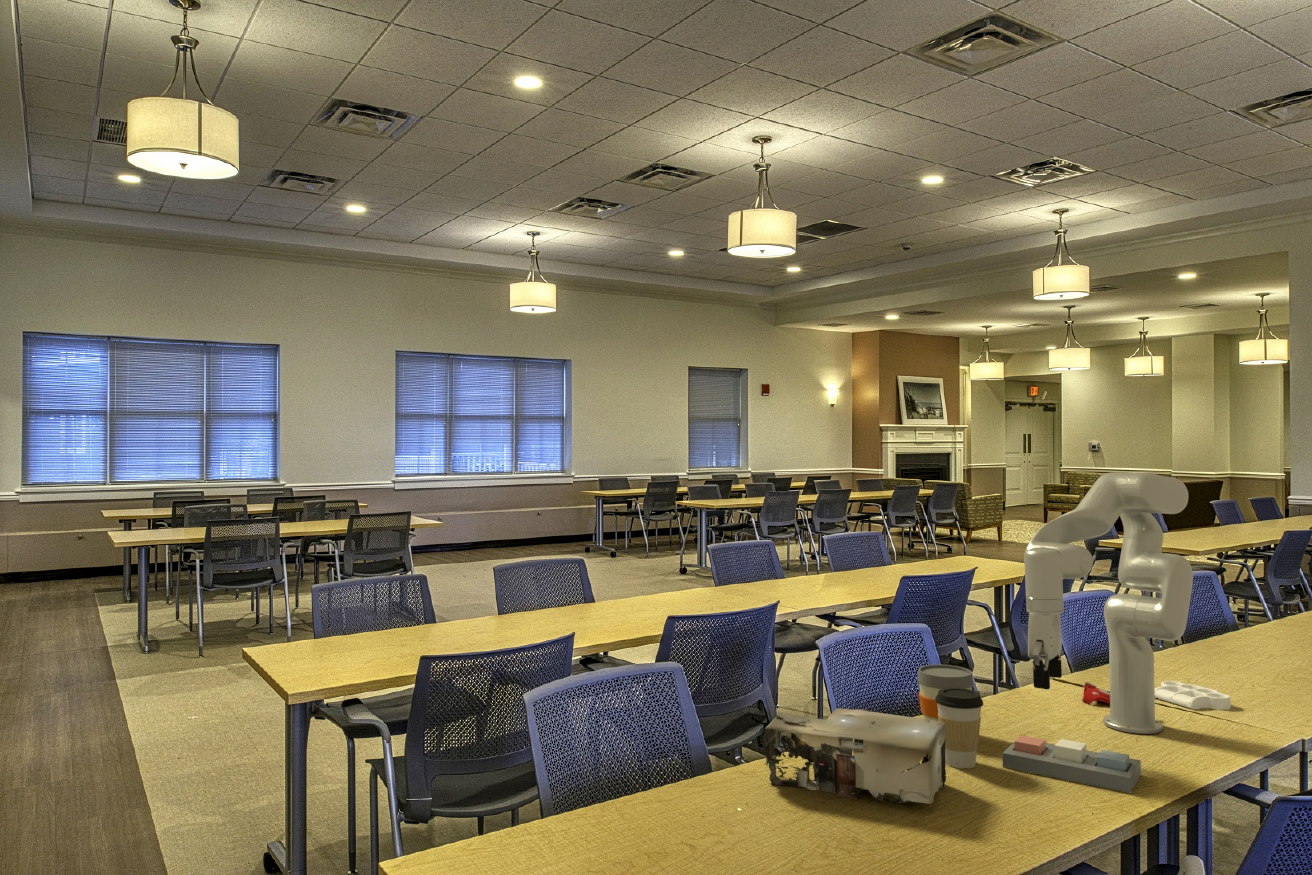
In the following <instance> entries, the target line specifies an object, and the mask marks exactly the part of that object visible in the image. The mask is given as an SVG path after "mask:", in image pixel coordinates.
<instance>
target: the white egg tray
mask: <svg viewBox="0 0 1312 875" xmlns="http://www.w3.org/2000/svg"><path fill="white" fill-rule="evenodd" d="M1160 685H1161V686H1158V687H1155V699H1156V698H1158V699H1157V700H1161V701H1164V702H1168V703H1170V702H1171V703H1170V704H1173V705H1177V704H1178V706H1180V707H1185V708H1188V709H1190V710H1194V709H1196V710H1201V709H1210V708H1212V709H1211V710H1216V709H1217V711H1218V710H1219V711H1226V710H1227V711H1228V710H1231V703H1232V702H1231V701H1232V700H1231V696H1230V695H1229V694H1225V693H1222V692H1219V690H1216V689H1213V688H1207V687H1203V686H1201V685H1197V684H1189V683H1183V682H1180V681H1174V680H1164V681H1161V684H1160ZM1200 708H1201V709H1200Z"/></svg>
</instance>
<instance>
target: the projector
mask: <svg viewBox="0 0 1312 875" xmlns="http://www.w3.org/2000/svg"><path fill="white" fill-rule="evenodd" d="M782 733H788V734H790V737H788V736H787V735H784V734H782ZM764 737H765V738H764V743H765V750H764V751H765V752H764V753H765V765H766V767H768V769H769V771H770V774H769V781H770V784H771V785H772V786H786V787H788V786H789V787H796V788H797V787H798V788H802V789H806V790H807V791H820V792H826V793H832V794H834V795H835V796H838V797H845V798H846V797H847V798H852V799H856V800H858V797H859V796H858V794H859V793H860V791H861V790H864V791H868V792H869V793H870V794H871V796H872V798H873V801H875V802H881V803H885V800H888V801H890V803H892V804H900V805H901V804H908V805H911V806H912V807H914V805H913V804H912V803H911V802H913V803H921V804H927V805H928V804H929V805H930V804H933V802H934V798H935V795H936V793H938V792H939V791H943V790H944V789H945V783H946V781H947V776H946V774H947V773H946V764H945V743H946V725H945V723H943V722H940V721H934V720H927V719H924V718H920V717H919V718H918V717H912V716H906V715H897V714H889V713H883V712H876V711H869V709H859V708H858V709H857V708H856V709H850V708H835V710H833V712H832V713H831V714H830V715H829V716H828V718H826V719H824V718H814V717H807V716H802V715H799V714H798V715H797V714H795V713H789V712H788V713H787V712H782V711H780V712H778V713H776V714H775V717H774V718H773V719H772V721H770V723H769V724H768V725H767V726H765V729H764ZM793 742H794V743H793ZM785 753H787V755H786V754H785ZM781 756H783V757H784V758H782V759H780V757H781ZM787 756H788V758H789V759H790V758H791V759H798V757H800V758H801V759H802V760H805V761H804V762H805V763H804V766H802V767H801V768H800V767H797V766H793V765H789V766H790V767H791V768H793V769H794V771H795V772H794V771H793V774H794V775H793V776H792V777H788V778H785V776H784V775H785V774H787V770H788V769H789V767H788V766H780V762H781V764H782V765H784V759H787ZM778 758H779V759H778ZM920 762H921V763H920ZM810 767H812V770H813V774H814V775H813V777H814V778H813V780H812V779H810ZM777 769H778V771H777ZM783 769H784V771H783ZM786 769H787V770H786ZM777 773H780V775H777ZM793 778H795V779H793Z"/></svg>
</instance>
